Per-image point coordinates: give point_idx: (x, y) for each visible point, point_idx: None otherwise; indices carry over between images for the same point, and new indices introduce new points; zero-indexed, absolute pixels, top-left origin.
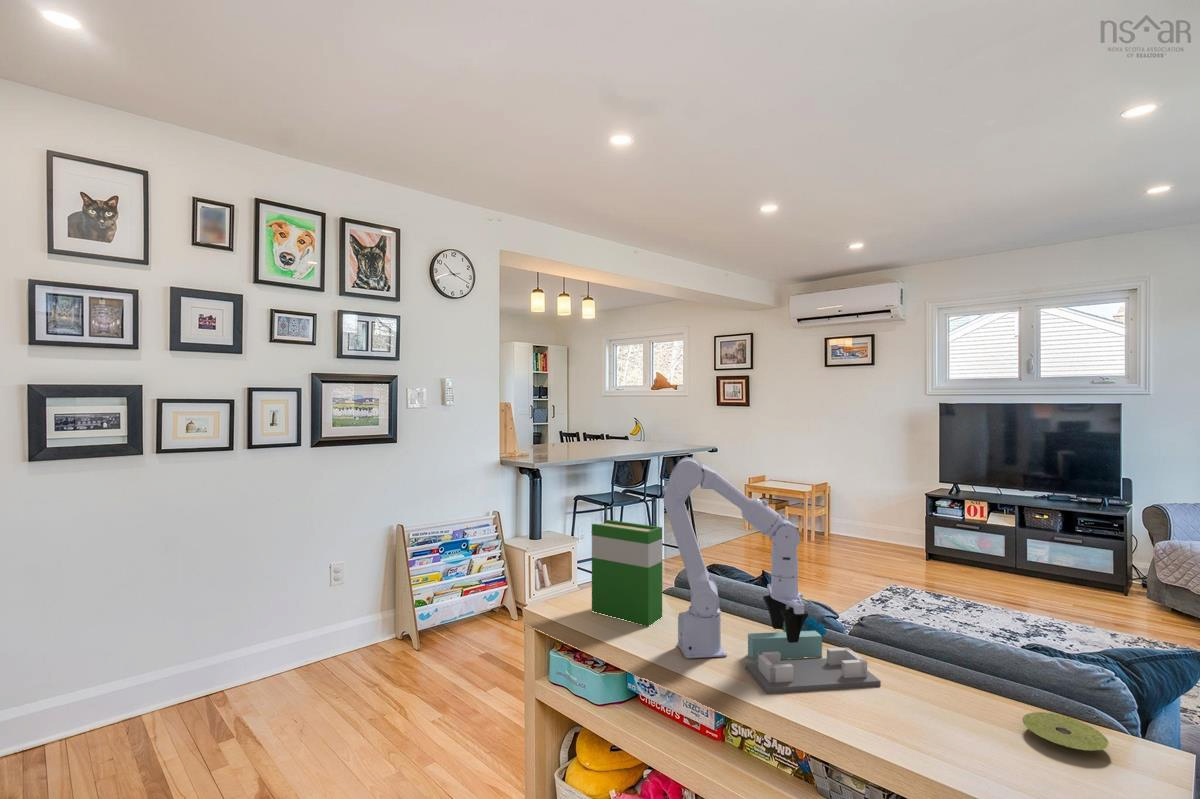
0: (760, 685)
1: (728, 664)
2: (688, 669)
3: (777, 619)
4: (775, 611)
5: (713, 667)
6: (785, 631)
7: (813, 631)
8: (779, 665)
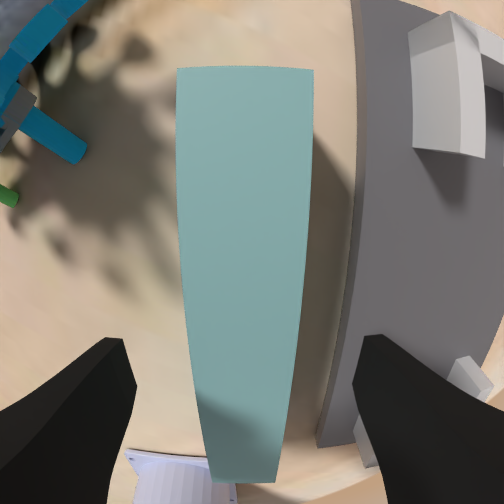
0: None
1: (280, 460)
2: (286, 500)
3: (106, 416)
4: (92, 478)
5: (289, 478)
6: (3, 194)
7: (193, 94)
8: None
